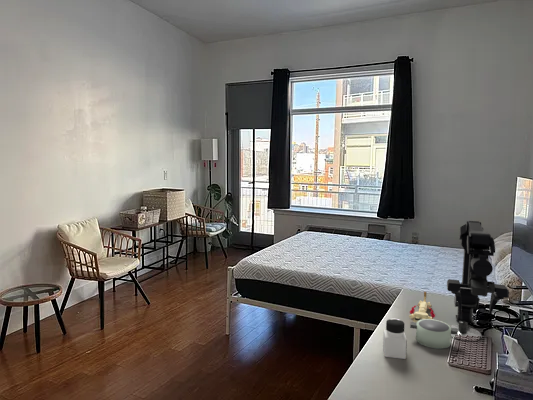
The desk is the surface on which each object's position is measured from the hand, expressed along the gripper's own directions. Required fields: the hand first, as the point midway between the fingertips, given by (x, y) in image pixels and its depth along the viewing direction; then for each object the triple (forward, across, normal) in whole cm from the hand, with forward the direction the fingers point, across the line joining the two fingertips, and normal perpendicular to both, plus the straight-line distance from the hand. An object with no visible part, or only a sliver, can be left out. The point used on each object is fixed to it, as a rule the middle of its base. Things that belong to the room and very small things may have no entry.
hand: (475, 311), depth 139 cm
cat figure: (+15, -17, +26) cm, 34 cm away
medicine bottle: (+15, -26, -12) cm, 32 cm away
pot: (+15, -13, +3) cm, 20 cm away
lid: (+15, -2, +14) cm, 21 cm away
